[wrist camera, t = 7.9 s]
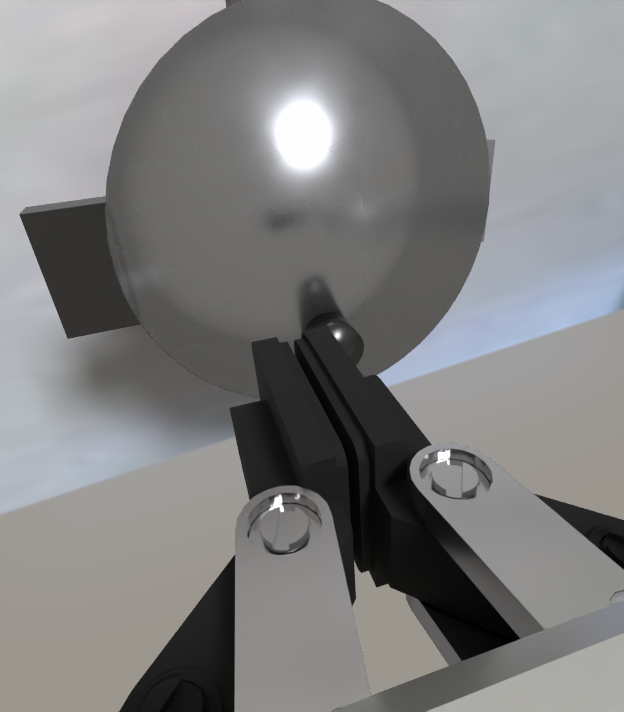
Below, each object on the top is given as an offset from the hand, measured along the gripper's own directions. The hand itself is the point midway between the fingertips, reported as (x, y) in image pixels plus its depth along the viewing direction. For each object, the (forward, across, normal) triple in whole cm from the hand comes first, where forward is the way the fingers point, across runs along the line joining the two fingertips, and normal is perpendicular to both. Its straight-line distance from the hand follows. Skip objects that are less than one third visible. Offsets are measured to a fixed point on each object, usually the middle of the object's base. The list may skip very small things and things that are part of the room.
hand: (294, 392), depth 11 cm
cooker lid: (+12, -3, 0) cm, 12 cm away
